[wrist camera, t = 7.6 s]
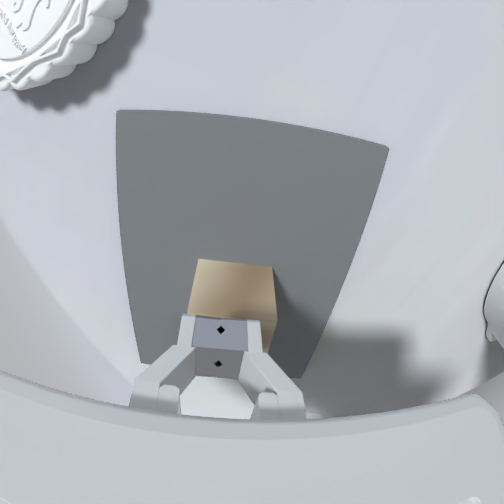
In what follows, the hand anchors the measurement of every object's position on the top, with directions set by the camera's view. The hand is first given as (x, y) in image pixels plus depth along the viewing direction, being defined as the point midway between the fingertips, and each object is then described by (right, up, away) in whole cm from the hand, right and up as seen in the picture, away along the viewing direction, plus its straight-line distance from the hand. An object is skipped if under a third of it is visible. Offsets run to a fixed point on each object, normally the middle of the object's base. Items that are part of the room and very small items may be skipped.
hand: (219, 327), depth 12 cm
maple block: (0, +1, +7) cm, 7 cm away
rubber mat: (0, +1, +11) cm, 11 cm away
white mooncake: (-11, +19, -1) cm, 22 cm away
